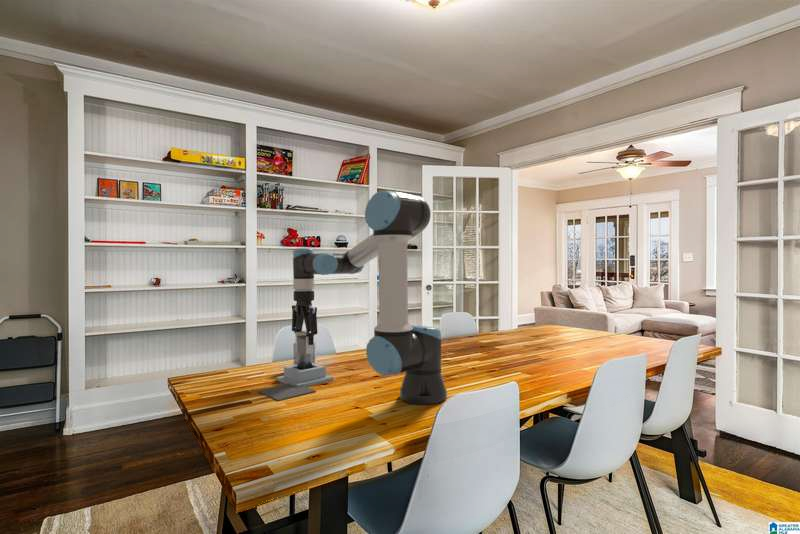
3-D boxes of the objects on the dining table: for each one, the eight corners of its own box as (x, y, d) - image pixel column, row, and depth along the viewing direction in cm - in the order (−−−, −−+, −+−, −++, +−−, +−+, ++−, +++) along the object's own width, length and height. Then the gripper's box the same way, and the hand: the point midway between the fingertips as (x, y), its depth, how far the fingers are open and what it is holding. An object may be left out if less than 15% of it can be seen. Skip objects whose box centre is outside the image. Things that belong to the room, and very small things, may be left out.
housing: (333, 380, 161) (333, 366, 161) (297, 388, 150) (297, 374, 150) (311, 372, 172) (311, 360, 172) (276, 380, 161) (276, 366, 161)
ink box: (317, 369, 178) (316, 340, 178) (315, 372, 173) (314, 342, 173) (295, 369, 177) (295, 340, 177) (293, 372, 172) (293, 343, 172)
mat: (316, 391, 147) (316, 390, 147) (278, 401, 137) (278, 399, 137) (294, 383, 157) (294, 382, 157) (257, 391, 147) (257, 390, 147)
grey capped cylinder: (316, 369, 161) (316, 331, 161) (301, 372, 157) (301, 333, 156) (307, 366, 166) (307, 330, 165) (292, 369, 161) (292, 331, 161)
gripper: (327, 290, 156) (328, 354, 157) (298, 288, 170) (299, 347, 171) (309, 291, 151) (310, 357, 151) (281, 289, 165) (282, 350, 165)
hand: (304, 352), depth 161 cm, fingers closed on grey capped cylinder, 6 cm apart
